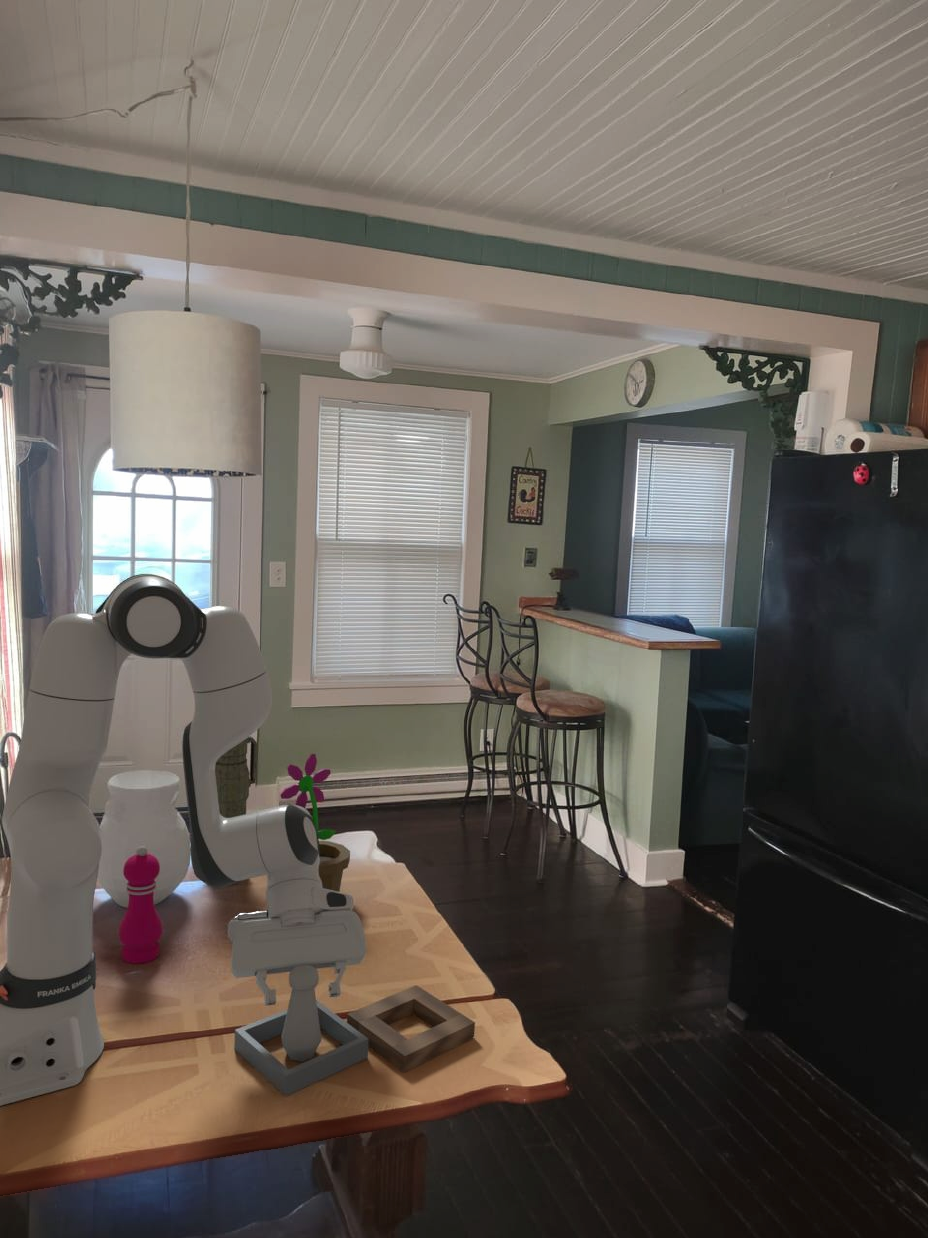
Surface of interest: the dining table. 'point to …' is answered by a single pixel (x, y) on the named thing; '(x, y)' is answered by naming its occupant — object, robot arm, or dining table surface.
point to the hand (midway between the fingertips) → (303, 1000)
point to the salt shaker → (302, 1015)
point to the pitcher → (143, 831)
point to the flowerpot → (330, 853)
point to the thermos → (235, 778)
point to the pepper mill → (140, 909)
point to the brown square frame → (421, 1047)
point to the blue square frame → (307, 1071)
